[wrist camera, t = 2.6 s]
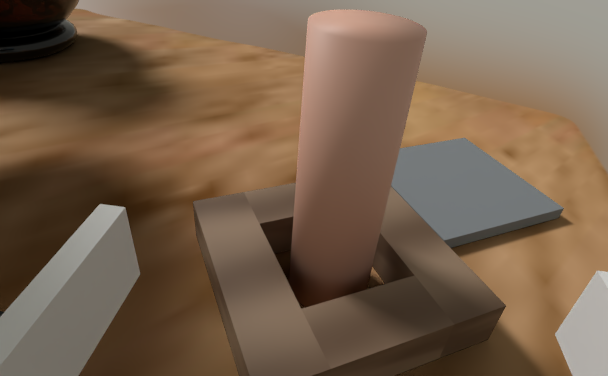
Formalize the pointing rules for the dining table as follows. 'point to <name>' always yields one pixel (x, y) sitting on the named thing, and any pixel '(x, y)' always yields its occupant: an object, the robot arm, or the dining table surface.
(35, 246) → the dining table surface
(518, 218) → the slate mat
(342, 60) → the terracotta peg
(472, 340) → the walnut pocket block
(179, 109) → the dining table surface
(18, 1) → the amphora vase
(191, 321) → the dining table surface
